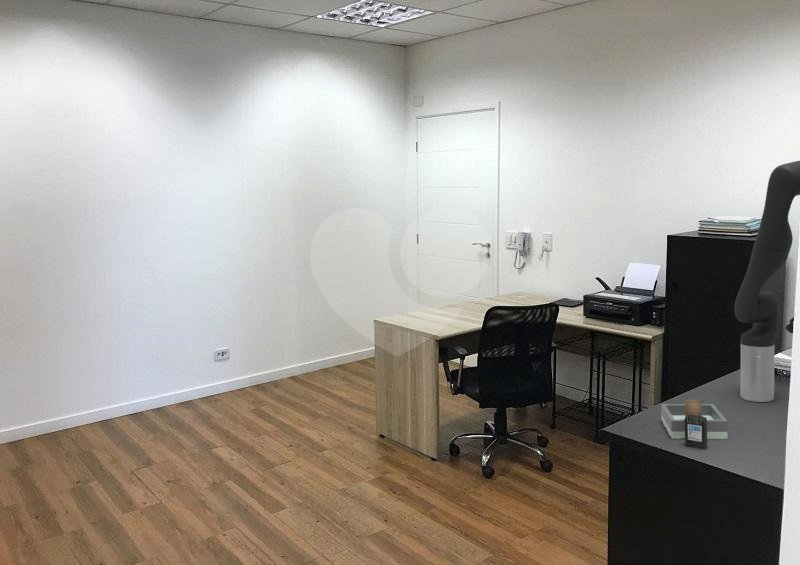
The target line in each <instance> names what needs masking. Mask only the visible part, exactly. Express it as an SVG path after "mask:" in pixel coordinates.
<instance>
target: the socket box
mask: <svg viewBox="0 0 800 565" xmlns="http://www.w3.org/2000/svg"><path fill="white" fill-rule="evenodd" d="M660 405H661V407H660V411H661V414H660V416H661V417H660V418H661V422H663V423H662V425H663V426H664V428H665V427H666V428H665V430H666V429H667V430H666V431H668V432H667V434H668V435H669V436H671V437H670V438H672V439H671V440H675V439H676V440H681V438H682V440H685V424H684V420H685V403H684V404H683V403H682V404H681V403H672V404H671V403H662V404H660ZM701 416H703V417H706V418H707V440H728V420H727V419H726V417H725V416H724V415H723V413H721V412H720V410H718V408H717V407H716V405H714V403H701ZM683 438H684V439H683Z"/></svg>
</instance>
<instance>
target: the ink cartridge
mask: <svg viewBox="0 0 800 565" xmlns="http://www.w3.org/2000/svg"><path fill="white" fill-rule="evenodd" d="M684 424H685V439H684V445H685V446H686V447H691V448H697V449H701V450H702V449H703V450H704V449H706V448H707V446H708V439H707V418H706V417H703V416H695V415H687V416H686V417H685V420H684Z"/></svg>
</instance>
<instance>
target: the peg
mask: <svg viewBox="0 0 800 565" xmlns="http://www.w3.org/2000/svg"><path fill="white" fill-rule="evenodd" d="M684 404H685V417H686V416H687V415H695V416H701V404H702V401H701V400H698V399H685V401H684Z"/></svg>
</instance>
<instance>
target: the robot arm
mask: <svg viewBox="0 0 800 565" xmlns="http://www.w3.org/2000/svg"><path fill="white" fill-rule="evenodd" d="M767 183H768V184H767V188H766V195H765V201H764V207H763V212H762V216H761V219H760V222H759V226H758V227H759V228H758V231H757V234H756V237H755V240H754V244H753V246H752V251H751V256H750V259H749V264H748V266H747V269H746V273H745V276H744V278H743V280H742V282H741V285H740V288H739V290H738V292H737V295H736V299H735V301H734V315H735V318H736V320H738V322H741V323H745V324H753V323H755V325H754V326H752V328H750V329H748V330H747V331H745V332H743V333H742V334H740V390H739V392H740V394H739V395H740V398H741V399H742V400H745V401H748V402H749V401H750V402H756V403H767V402H772V401H773V400H775V344H776V343H775V341H776V337H777V333H778V320H779V303H778V299H777V297H776V295H775V294H774V293H773V292H771V291H762V289H763V288H764V286H765V284H766V283H767V282H768V281H770V279H771V278H772V277H773V276H775V274H776V273H777V272H779V271H780V270H781V269H782V267H784V265H785V263H786V262H787V261H788V257H789V254H790V251H791V248H792V245H793V238H794V237H793V233H792V228H791V226H790V222H789V214H790V209H791V208H792V207H791V206H792V203H793V201H794V199H795V197H797V196H800V160H796V161H791V162H788V163H782V164H780V165H778V166H776V167H775V168H774V169H772V172H771V173H770V175H769V178H768V182H767ZM793 321H794V316H793V317H792V318H790V320H789V321H788V322H789V323H788V324H787V325H786V326H785V329H786V331H787V332H788V333H790V334H794V333H793Z"/></svg>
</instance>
